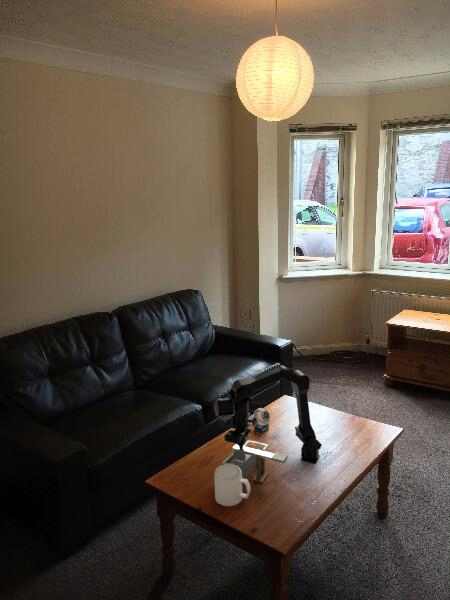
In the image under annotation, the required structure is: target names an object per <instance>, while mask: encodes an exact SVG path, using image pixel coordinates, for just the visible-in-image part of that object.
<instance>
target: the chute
mask: <svg viewBox="0 0 450 600" xmlns="http://www.w3.org/2000/svg"><path fill="white" fill-rule="evenodd" d="M257 450H258V449H257ZM225 464H232V465H236V466H238V467H239V468H240V469H241V471H242V478H243V479H247V478H248V477H249V475H250V473H251V472H252V471H253V469H254V468H256V456H252V455H248V454H246V459H245V460H244V461H240V460H236V459H234V451H233V452H232V453H231V454H230V455H228V457H227V458H225V460H223V461H222V462H221V465H225Z"/></svg>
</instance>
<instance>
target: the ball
mask: <svg viewBox="0 0 450 600" xmlns="http://www.w3.org/2000/svg"><path fill="white" fill-rule="evenodd" d="M248 447H249V448H253V449H257V446H256V445H255V444H254V443H250V444H249V445H248Z"/></svg>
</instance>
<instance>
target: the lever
mask: <svg viewBox="0 0 450 600" xmlns="http://www.w3.org/2000/svg"><path fill="white" fill-rule="evenodd" d="M231 451H233V452H234V459H236V460H240V461H244V460H245V459H246V454H248V455H252V456H256V454H259V455H260V456H261V458H264V459H265V460H269V461H273V462H277V463H281V464H285V463H286V462H287V460H288V457H289V455H288V454H287V453H283V452H279V451H275V452H273V453H272V452H269V451H268V452H265V451H261V450H257V449H253V448H249V447H243V448H242V449H241V448H240V447H239V445H238V444H236V443H234V445H233V446H232V448H231Z"/></svg>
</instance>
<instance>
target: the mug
mask: <svg viewBox="0 0 450 600" xmlns="http://www.w3.org/2000/svg"><path fill="white" fill-rule="evenodd" d="M213 474H214V475H213V476H214V497H215V498H214V499H215V501H216V503H217V504H219V505H220V504H221V506H223V507H233V506H236V505H238V504H240V503H241V502H242V500H243V499H245V500H247V499H249V496H250V493H251V484H250V482H249V480H248V478H246V479H243V478H242V471H241V469H240V468H239V467H238V466H236V465H232V464H225V465H222V464H221V465H219V466H217V467H216V468H214V472H213ZM243 484H244V487H245V488H246V493H244V492H243Z"/></svg>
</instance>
